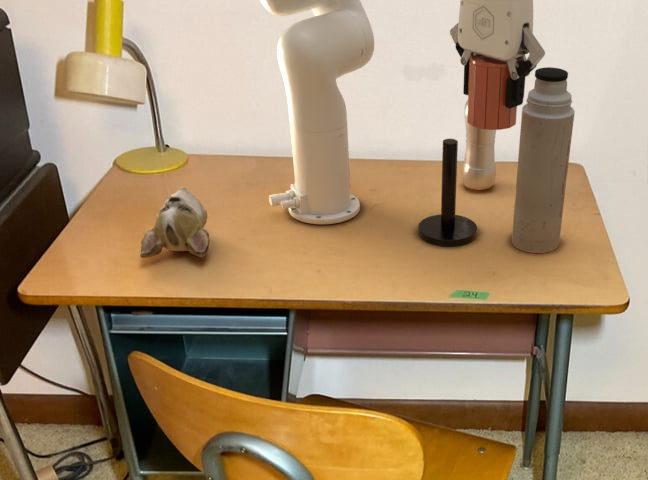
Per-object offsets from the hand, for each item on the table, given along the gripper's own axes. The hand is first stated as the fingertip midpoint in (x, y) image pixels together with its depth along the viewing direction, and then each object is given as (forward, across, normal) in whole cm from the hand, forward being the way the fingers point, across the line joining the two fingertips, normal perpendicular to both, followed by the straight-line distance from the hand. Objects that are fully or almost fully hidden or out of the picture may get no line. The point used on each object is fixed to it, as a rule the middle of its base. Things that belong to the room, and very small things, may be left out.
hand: (492, 98), depth 121 cm
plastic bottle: (+26, -20, +21) cm, 39 cm away
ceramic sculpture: (+26, -38, -32) cm, 56 cm away
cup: (+3, 0, 0) cm, 3 cm away
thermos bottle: (+26, +2, +11) cm, 28 cm away
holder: (+26, -11, +3) cm, 28 cm away
